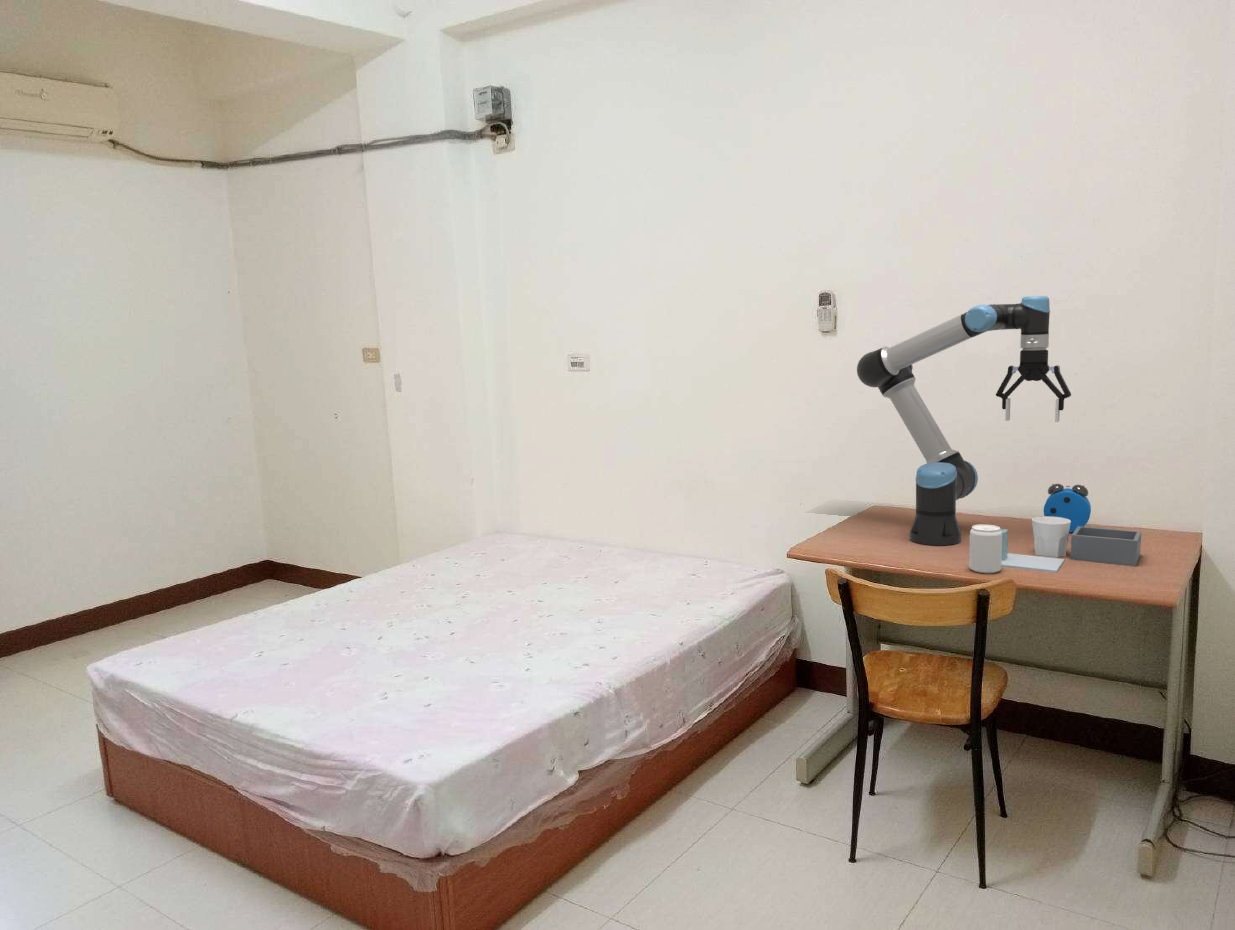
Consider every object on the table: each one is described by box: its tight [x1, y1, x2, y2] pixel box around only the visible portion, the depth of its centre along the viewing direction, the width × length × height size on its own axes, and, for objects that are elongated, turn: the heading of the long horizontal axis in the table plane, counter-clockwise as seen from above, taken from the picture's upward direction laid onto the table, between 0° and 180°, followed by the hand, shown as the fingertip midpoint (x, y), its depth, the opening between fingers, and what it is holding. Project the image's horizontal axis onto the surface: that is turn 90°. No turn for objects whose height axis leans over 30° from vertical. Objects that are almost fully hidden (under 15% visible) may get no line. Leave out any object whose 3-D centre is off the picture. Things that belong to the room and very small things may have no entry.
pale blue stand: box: [1000, 528, 1065, 574], centre depth 251 cm, size 18×13×9 cm
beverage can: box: [968, 523, 1002, 574], centre depth 246 cm, size 8×8×12 cm
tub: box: [1070, 526, 1142, 567], centre depth 253 cm, size 16×12×7 cm
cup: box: [1031, 515, 1071, 558], centre depth 259 cm, size 10×10×10 cm
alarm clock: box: [1043, 483, 1092, 533], centre depth 284 cm, size 13×6×15 cm, turn 61°
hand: (1032, 421), depth 269 cm, fingers open, 13 cm apart
